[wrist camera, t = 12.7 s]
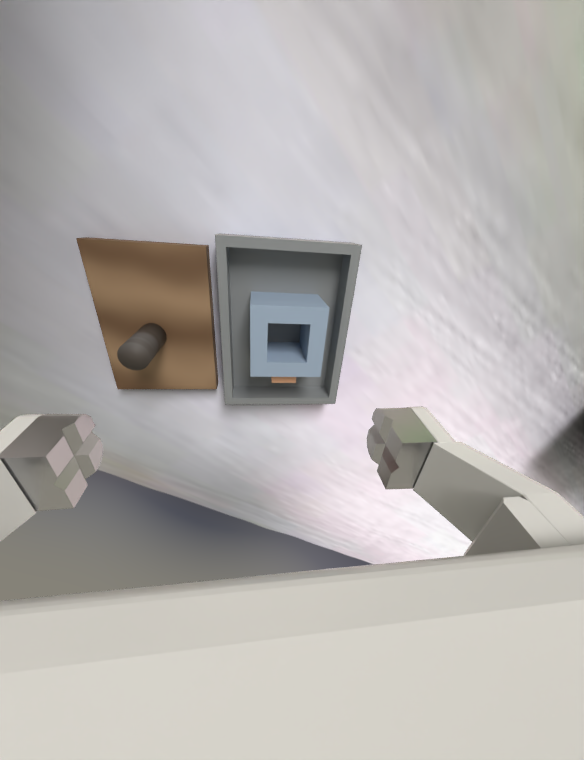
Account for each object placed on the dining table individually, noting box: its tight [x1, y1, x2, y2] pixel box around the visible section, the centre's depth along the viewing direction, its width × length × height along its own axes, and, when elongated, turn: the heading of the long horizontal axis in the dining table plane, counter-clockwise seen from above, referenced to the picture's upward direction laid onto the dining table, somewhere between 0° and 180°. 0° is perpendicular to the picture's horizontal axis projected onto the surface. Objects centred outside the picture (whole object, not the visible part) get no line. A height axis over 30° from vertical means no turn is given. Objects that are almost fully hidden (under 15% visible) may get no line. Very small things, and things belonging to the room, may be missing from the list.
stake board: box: [76, 237, 218, 389], centre depth 25 cm, size 14×10×6 cm
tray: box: [215, 234, 362, 404], centre depth 28 cm, size 16×12×3 cm
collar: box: [250, 291, 330, 383], centre depth 27 cm, size 8×6×5 cm
